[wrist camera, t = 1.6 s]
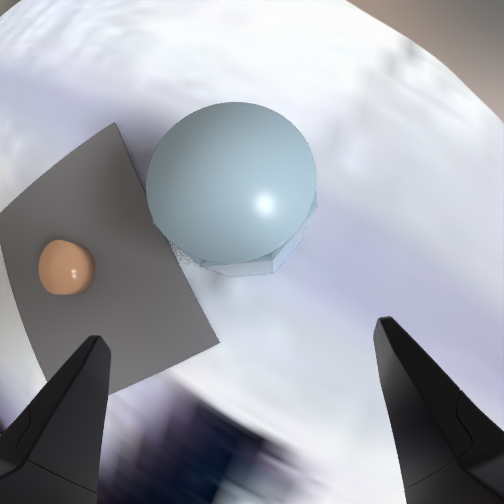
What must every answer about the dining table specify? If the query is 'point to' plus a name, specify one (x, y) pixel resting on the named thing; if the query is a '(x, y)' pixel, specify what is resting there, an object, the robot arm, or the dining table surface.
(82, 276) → the tan rounded pebble
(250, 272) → the dome-topped octagonal prism
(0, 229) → the placemat
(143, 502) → the dining table surface
